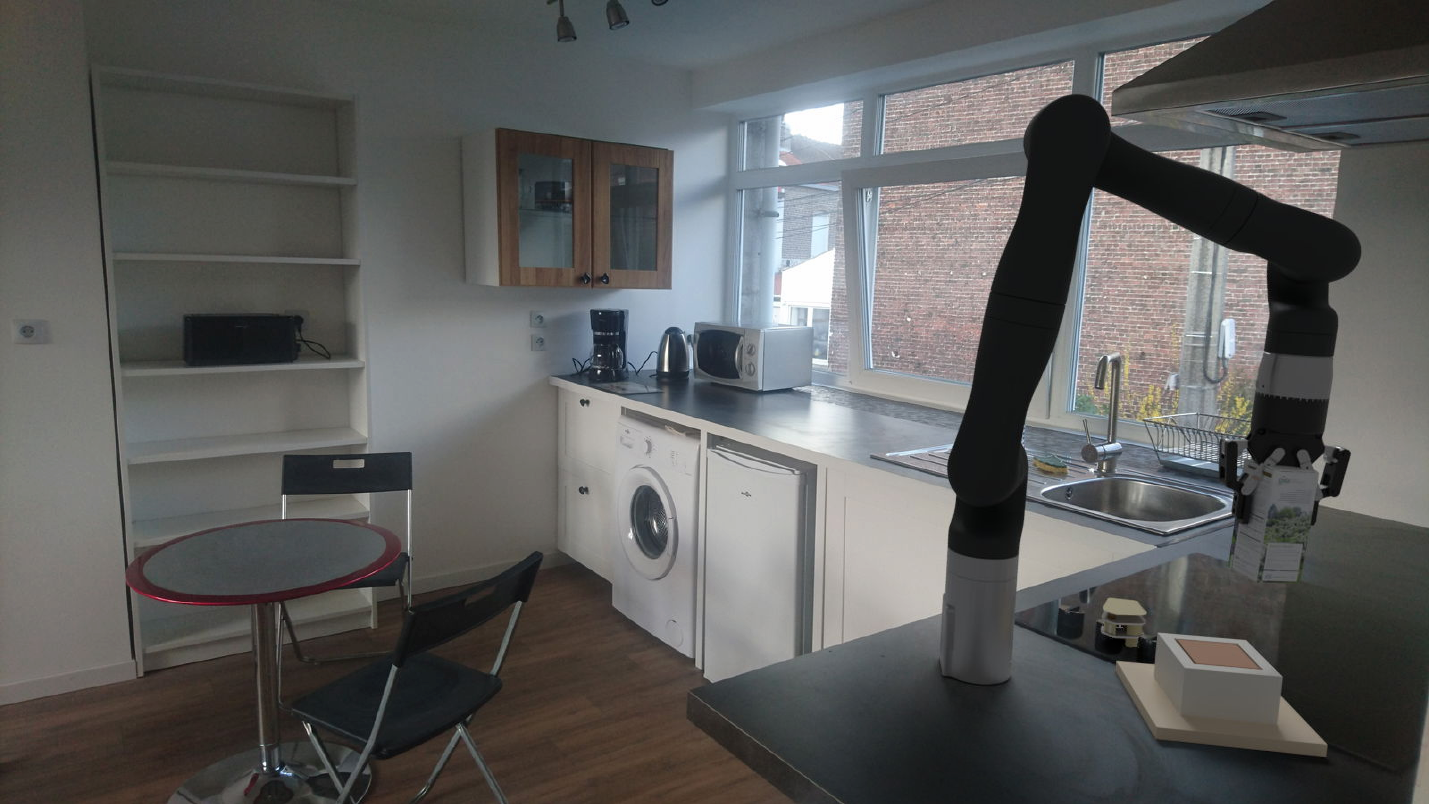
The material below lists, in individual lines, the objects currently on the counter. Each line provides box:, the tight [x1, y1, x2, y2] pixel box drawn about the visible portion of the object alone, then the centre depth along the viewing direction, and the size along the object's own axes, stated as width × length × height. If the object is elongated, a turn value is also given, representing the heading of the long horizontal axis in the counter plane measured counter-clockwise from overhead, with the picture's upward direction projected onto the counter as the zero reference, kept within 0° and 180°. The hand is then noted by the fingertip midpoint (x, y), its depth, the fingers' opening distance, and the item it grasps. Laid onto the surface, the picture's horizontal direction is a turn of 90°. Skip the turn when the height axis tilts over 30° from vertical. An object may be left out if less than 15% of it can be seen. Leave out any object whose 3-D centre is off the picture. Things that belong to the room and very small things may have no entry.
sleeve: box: [1115, 632, 1329, 758], centre depth 108 cm, size 18×18×8 cm
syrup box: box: [1227, 458, 1320, 584], centre depth 107 cm, size 6×6×14 cm
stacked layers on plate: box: [1100, 597, 1147, 648], centre depth 129 cm, size 10×9×6 cm
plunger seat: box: [1177, 640, 1259, 670], centre depth 108 cm, size 7×7×1 cm
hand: (1272, 525), depth 107 cm, fingers closed on syrup box, 6 cm apart
